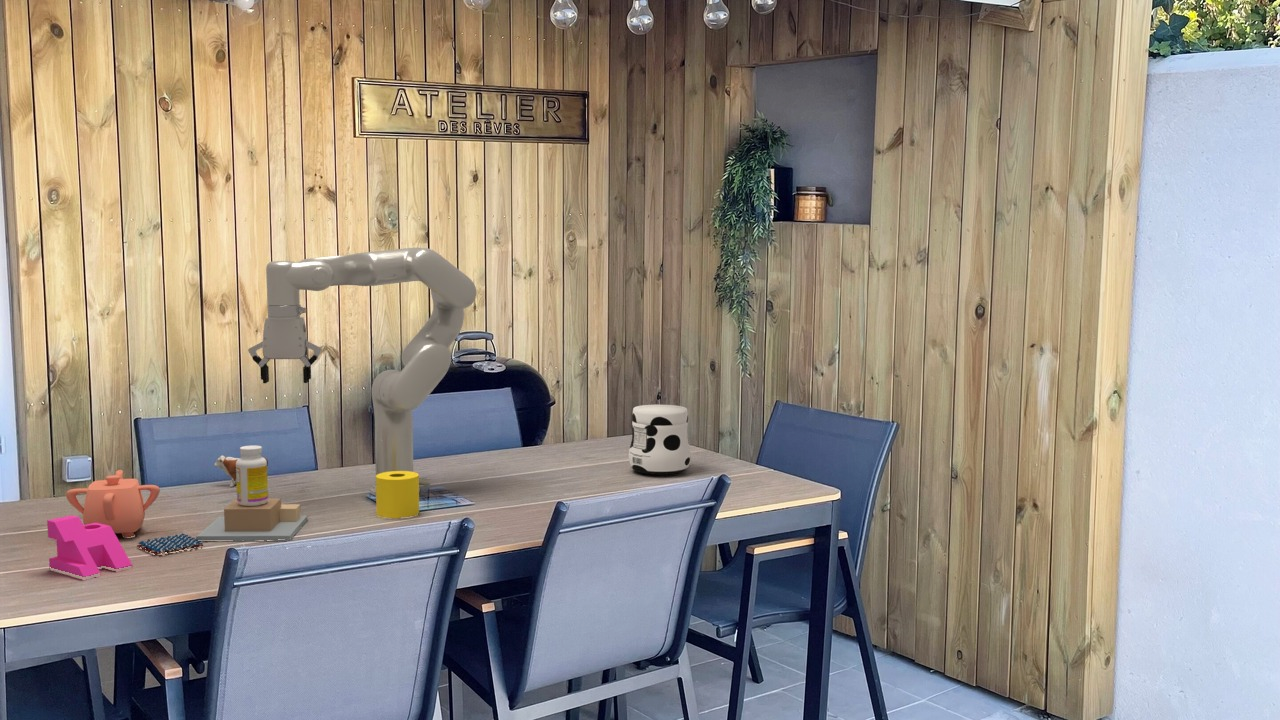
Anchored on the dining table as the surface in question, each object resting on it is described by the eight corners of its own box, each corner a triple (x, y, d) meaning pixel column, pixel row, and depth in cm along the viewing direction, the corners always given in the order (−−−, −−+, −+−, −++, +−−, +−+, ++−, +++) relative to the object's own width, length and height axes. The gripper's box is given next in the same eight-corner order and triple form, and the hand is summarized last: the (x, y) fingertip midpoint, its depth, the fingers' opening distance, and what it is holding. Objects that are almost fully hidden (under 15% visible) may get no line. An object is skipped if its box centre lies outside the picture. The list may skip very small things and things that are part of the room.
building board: (307, 520, 282) (306, 494, 281) (289, 541, 264) (289, 513, 263) (220, 521, 281) (219, 494, 280) (196, 541, 263) (195, 513, 262)
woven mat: (134, 550, 258) (134, 541, 257) (183, 541, 265) (183, 532, 265) (155, 560, 250) (155, 550, 250) (205, 550, 258) (204, 541, 257)
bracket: (49, 570, 241) (47, 520, 240) (97, 559, 249) (95, 510, 248) (84, 581, 234) (81, 529, 233) (132, 568, 243) (130, 518, 241)
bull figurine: (215, 485, 318) (214, 454, 317) (268, 482, 323) (267, 451, 322) (214, 488, 314) (213, 457, 313) (268, 485, 318) (268, 454, 318)
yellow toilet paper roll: (419, 508, 295) (418, 470, 293) (419, 518, 285) (418, 479, 284) (377, 509, 293) (376, 471, 292) (375, 519, 283) (374, 480, 282)
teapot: (110, 546, 258) (108, 486, 257) (59, 537, 265) (56, 478, 264) (171, 529, 273) (170, 472, 272) (122, 521, 280) (119, 465, 279)
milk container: (694, 467, 346) (695, 404, 344) (685, 479, 329) (686, 414, 327) (634, 464, 349) (635, 402, 347) (623, 477, 332) (623, 412, 330)
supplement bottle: (274, 501, 274) (272, 445, 272) (256, 508, 267) (254, 451, 266) (249, 499, 276) (247, 443, 274) (230, 505, 270) (229, 448, 268)
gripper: (323, 311, 297) (325, 380, 299) (251, 311, 295) (253, 380, 297) (317, 313, 289) (319, 384, 291) (243, 313, 288) (246, 385, 290)
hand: (286, 382), depth 294 cm, fingers open, 9 cm apart
